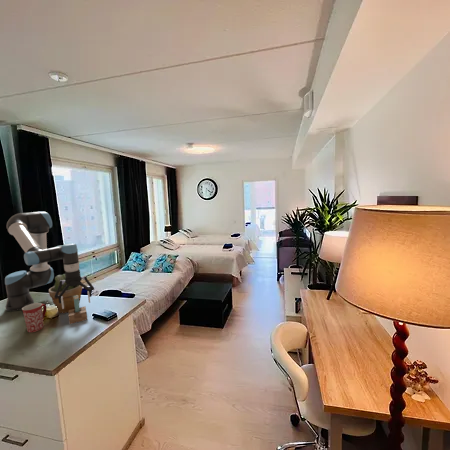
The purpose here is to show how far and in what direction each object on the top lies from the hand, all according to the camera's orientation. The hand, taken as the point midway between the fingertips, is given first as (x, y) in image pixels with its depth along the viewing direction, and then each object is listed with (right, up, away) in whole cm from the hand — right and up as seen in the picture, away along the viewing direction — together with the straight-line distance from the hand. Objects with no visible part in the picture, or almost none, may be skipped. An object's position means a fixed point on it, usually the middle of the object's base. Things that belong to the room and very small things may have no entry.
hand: (76, 305), depth 152 cm
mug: (-18, -11, -7) cm, 22 cm away
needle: (0, -9, +1) cm, 9 cm away
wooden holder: (0, -9, +1) cm, 9 cm away
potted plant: (-14, -8, +15) cm, 22 cm away
